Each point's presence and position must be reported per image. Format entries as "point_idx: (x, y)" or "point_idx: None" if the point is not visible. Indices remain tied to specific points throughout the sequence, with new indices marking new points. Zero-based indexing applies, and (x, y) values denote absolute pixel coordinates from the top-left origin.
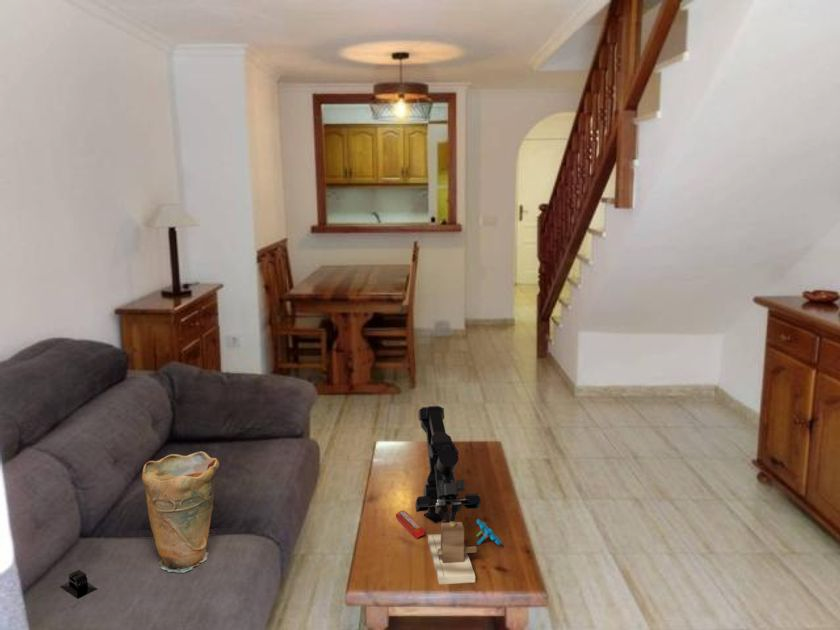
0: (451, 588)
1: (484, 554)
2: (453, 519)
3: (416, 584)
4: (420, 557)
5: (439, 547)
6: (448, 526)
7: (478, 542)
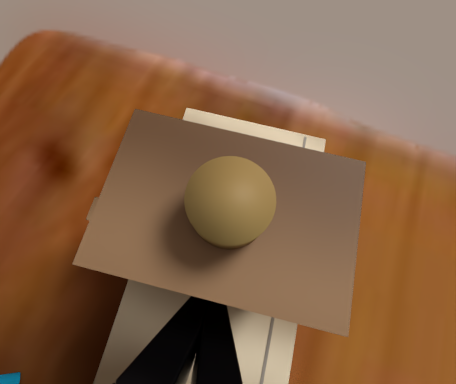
0: (281, 120)
1: (48, 281)
2: (136, 380)
3: (395, 180)
4: (337, 368)
5: (242, 381)
6: (280, 216)
7: (9, 381)
